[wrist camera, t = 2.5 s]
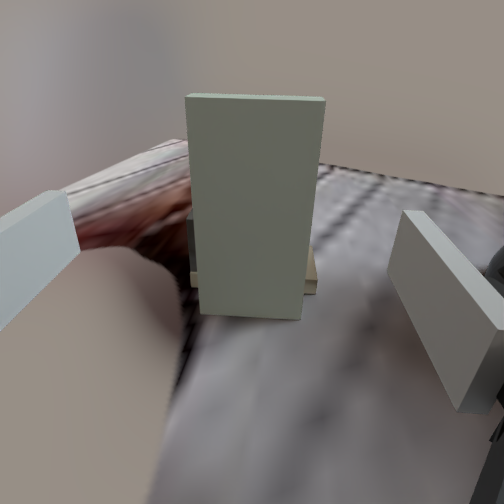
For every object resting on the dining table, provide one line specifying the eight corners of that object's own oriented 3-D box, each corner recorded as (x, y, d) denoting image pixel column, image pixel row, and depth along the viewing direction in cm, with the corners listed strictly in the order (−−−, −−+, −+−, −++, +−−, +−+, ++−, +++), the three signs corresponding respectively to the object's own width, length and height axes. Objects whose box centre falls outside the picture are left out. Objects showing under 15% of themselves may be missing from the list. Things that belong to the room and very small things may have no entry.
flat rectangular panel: (298, 296, 30) (320, 95, 22) (300, 320, 28) (325, 101, 20) (206, 291, 31) (195, 91, 23) (200, 314, 28) (184, 96, 20)
